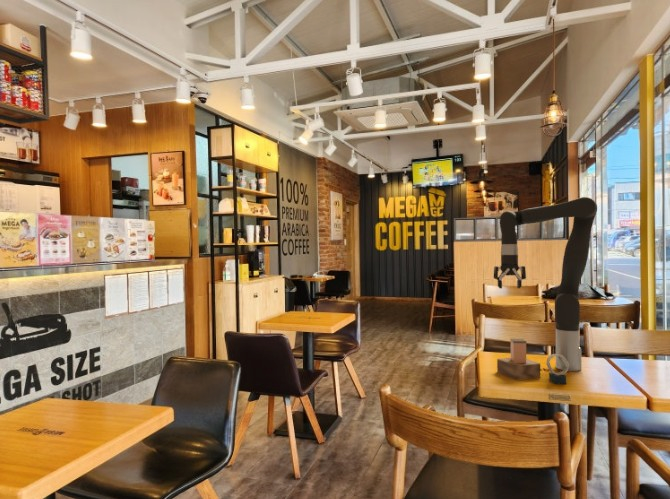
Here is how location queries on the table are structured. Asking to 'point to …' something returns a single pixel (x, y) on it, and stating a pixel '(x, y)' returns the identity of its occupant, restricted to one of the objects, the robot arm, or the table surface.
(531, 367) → the walnut block
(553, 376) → the watch
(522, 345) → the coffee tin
